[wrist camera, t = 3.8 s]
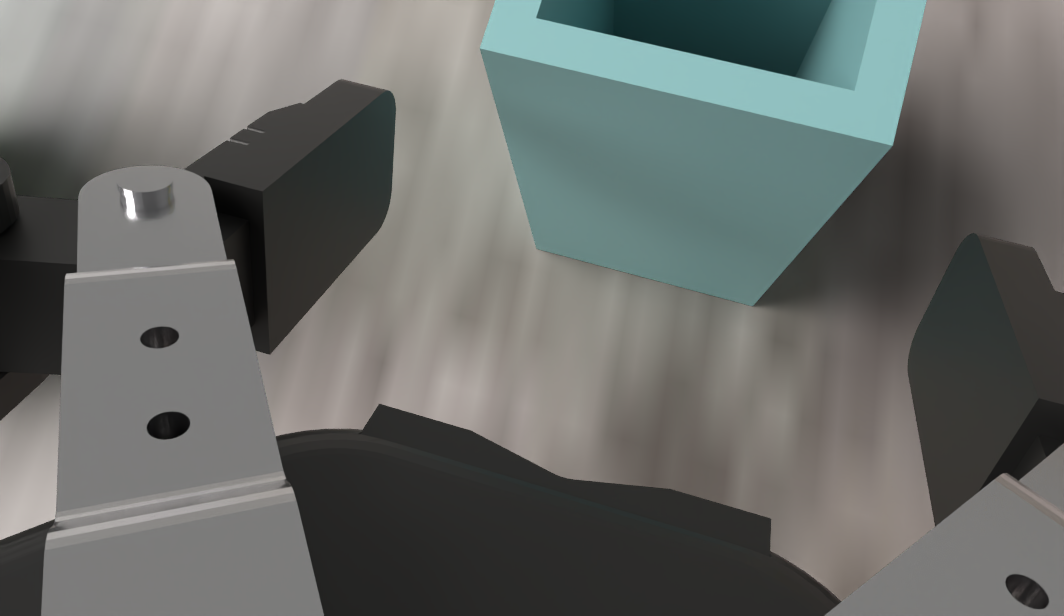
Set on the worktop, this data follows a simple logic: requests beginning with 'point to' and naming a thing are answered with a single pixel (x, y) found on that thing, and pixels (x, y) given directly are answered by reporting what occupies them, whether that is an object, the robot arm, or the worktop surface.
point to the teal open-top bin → (695, 126)
